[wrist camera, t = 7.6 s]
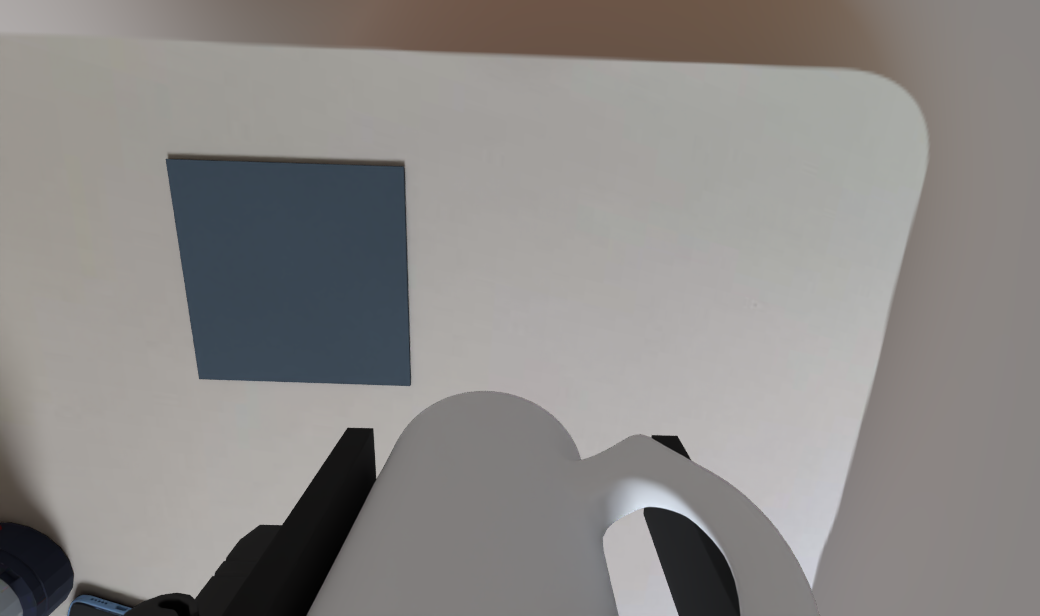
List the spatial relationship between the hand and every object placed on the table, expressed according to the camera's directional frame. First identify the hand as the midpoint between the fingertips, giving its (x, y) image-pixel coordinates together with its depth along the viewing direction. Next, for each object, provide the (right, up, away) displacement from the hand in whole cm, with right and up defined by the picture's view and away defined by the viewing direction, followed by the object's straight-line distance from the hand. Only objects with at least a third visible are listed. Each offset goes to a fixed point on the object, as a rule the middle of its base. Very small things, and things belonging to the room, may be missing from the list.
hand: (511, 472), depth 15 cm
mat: (-14, +7, +17) cm, 23 cm away
